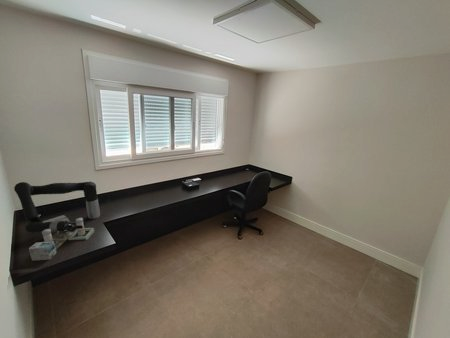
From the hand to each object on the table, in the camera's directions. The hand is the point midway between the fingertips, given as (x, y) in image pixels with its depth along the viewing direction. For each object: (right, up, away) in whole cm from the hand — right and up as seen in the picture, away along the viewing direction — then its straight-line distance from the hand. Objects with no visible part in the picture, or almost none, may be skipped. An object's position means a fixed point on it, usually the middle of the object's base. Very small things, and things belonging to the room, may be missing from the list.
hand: (84, 225), depth 151 cm
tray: (-3, -10, +2) cm, 10 cm away
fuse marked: (-3, -8, +2) cm, 8 cm away
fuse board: (-16, -11, -6) cm, 21 cm away
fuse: (-15, -12, -13) cm, 23 cm away
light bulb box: (-10, -16, -21) cm, 29 cm away
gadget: (-36, -5, +18) cm, 40 cm away
